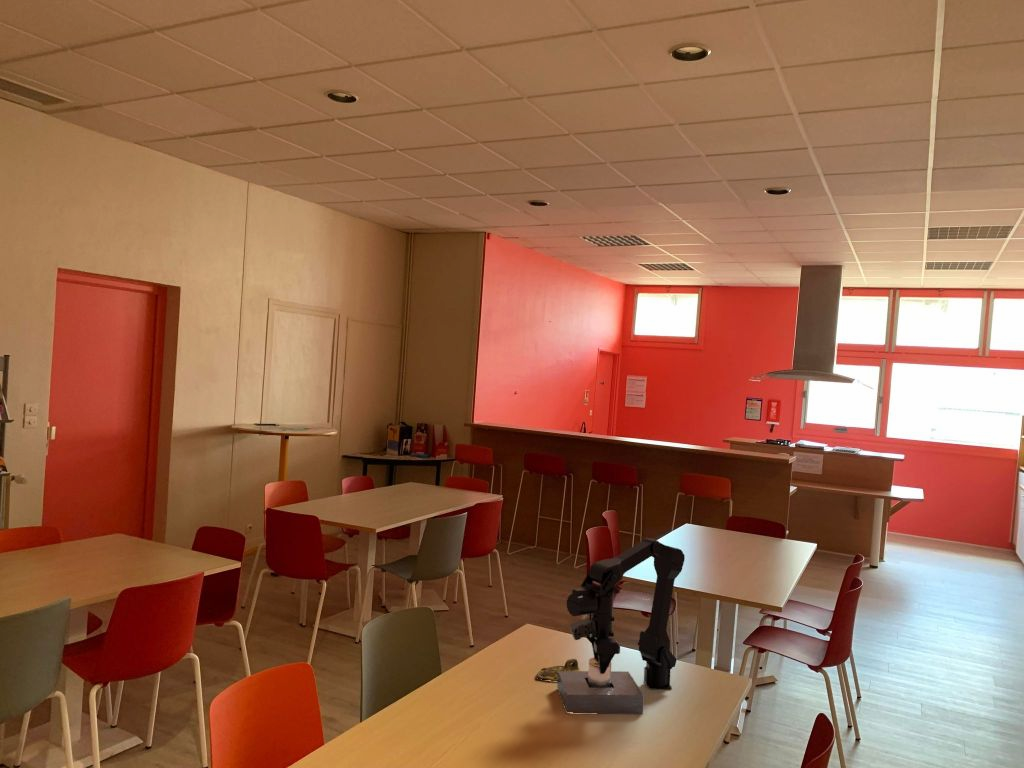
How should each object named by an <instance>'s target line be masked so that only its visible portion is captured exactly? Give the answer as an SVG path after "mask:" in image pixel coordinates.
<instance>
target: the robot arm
mask: <svg viewBox="0 0 1024 768" xmlns="http://www.w3.org/2000/svg"><path fill="white" fill-rule="evenodd" d="M651 557H652V558H653V567H654V570H655V573H656V581H655V587H654V593H653V600H652V603H651V604H652V606H651V612H650V615H649V616H650V617H649V624H648V627H646V629H645V630H644V631H643V630H641V631H640V632H639V639H638V642H637V645H638V651H639V653H640V656H641V660H642V661H644V662H645V664H646V666H645V667H644V668H643V670H644V671H643V682H644V684H645V685H646V686H647V687H648V689H649V690H672V689H673V688H672V685H671V670H672V669H673V668H675V667H676V664H677V658H676V656H675V655H674V654H673V652H671V651H670V646H671V640H670V637H669V634H668V631H667V629H668V622H669V615H670V611H671V610H670V609H671V603H672V597H673V592H674V591H673V590H674V586H675V580H676V578H677V577H678V576H679V575H680V574H681V572H682V571H683V567H684V563H685V561H686V560H685V554H684V552H683V551H682V550H681V549H680V548H677V547H673V546H670V545H666V544H664V543H662V542H660V541H659V540H657V539H653V538H648V537H645V538H642V540H641V541H640V542H639V543H636V544H635V545H633V546H631V547H630V548H628V549H627V550H625V551H623V552H622V553H619V554H618V555H616V556H614V557H612V558H607V559H606V558H605V559H602V560H599V561H596V562H594V563H592V564H591V565H590V568H589V570H588V572H587V573H586V575H585V577H584V579H583V581H582V583H581V585H580V588H573V589H572V591H571V593H570V594H569V595H568V596H567V600H566V609H567V611H568V613H569V614H570V615H571V617H580V616H585V615H588V617H587V618H583V619H580V620H577V621H574V622H571V623H569V624H568V626H569V629H570V632H571V634H572V638H573V639H574V641H579V640H581V639H582V638H586V639H587V640H588V642H590V644H591V647H592V648H591V649H592V652H593V653H592V654H593V658H595V657H598V659H599V667H600V673H601V674H604V673H605V672H606V670H607V668H608V666H609V664H610V662H611V663H612V660H613V658H614V657H615V655H619V654H620V653H621V645H620V643H619V642H618V641H617V639H615V638H614V637H615V634H614V631H613V622H615V617H614V613H613V611H614V595H616V594H620V589H618V588H617V587H616V585H617V584H618V583H620V581H622V580H623V577H624V574H625V573H627V572H628V571H630V570H632V569H633V568H635V567H637V566H638V565H639V564H641V563H644V561H647V560H648V559H650V558H651ZM611 637H612V638H611Z"/></svg>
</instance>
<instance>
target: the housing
mask: <svg viewBox="0 0 1024 768" xmlns="http://www.w3.org/2000/svg"><path fill="white" fill-rule="evenodd" d="M588 671H589V670H588ZM588 671H587V670H585V671H584V670H583V671H582V670H581V671H580V670H579V671H558V681H557V682H556V684H557V686H556V689H557V688H558V690H557V692H558V691H559V693H560V695H559V697H560V696H561V698H560V700H561V699H562V700H561V702H562V701H563V703H562V705H563V704H564V706H565V708H564V710H565V709H566V711H567V712H573V713H597V714H596V715H643V714H644V694H643V692H642V690H641V689H640V687H639V685H638V684H637V683H636V681H635V680H634V678H633V676H632V675H631V673H630V672H629V671H620V670H619V671H617V670H615V671H612V670H611V684H610V688H589V686H588ZM559 693H558V694H559ZM564 706H563V707H564ZM566 711H565V712H566Z"/></svg>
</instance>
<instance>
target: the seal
mask: <svg viewBox="0 0 1024 768" xmlns="http://www.w3.org/2000/svg"><path fill="white" fill-rule="evenodd" d="M558 671H580V667H579V662H578V659H577V658H570V659H567V660H566V662H565V663H564V665H555V666H550V667H542V668H541V670H539V671H538V672H537V673H536V676H535V679H536V678H538V679H542V680H551V681H558ZM538 679H537V680H538ZM542 680H541V681H542Z"/></svg>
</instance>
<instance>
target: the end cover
mask: <svg viewBox="0 0 1024 768" xmlns="http://www.w3.org/2000/svg"><path fill="white" fill-rule="evenodd" d="M611 671H612V661H611V662H610V664H609V666H608V668H607V670H606V672H605V673H604V674H601V673H600V667H599V659H598V657H595V658H594V657H591V658H589V660H588V686H589V688H610V684H611Z"/></svg>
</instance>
